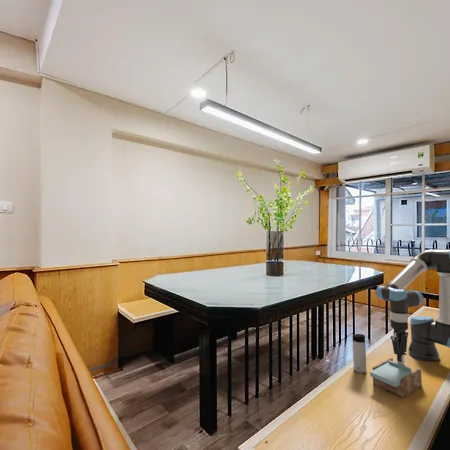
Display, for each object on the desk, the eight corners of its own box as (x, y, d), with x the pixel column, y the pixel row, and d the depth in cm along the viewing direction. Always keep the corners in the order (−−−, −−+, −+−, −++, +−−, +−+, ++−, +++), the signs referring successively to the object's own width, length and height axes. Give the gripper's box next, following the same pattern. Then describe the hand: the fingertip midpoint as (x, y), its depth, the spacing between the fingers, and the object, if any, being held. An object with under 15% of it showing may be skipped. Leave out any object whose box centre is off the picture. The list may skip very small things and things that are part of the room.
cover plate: (388, 366, 142) (388, 359, 142) (413, 375, 132) (413, 368, 132) (370, 375, 132) (369, 368, 133) (395, 387, 123) (395, 379, 123)
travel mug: (360, 375, 145) (358, 337, 145) (351, 369, 151) (349, 333, 152) (369, 373, 146) (368, 335, 147) (360, 367, 153) (359, 331, 153)
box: (391, 373, 145) (391, 357, 145) (421, 385, 133) (420, 368, 134) (373, 384, 136) (372, 367, 136) (403, 398, 124) (402, 379, 124)
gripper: (397, 316, 144) (399, 361, 144) (384, 320, 138) (386, 368, 137) (413, 319, 138) (415, 366, 137) (400, 325, 131) (402, 374, 130)
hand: (400, 367), depth 137 cm, fingers closed
